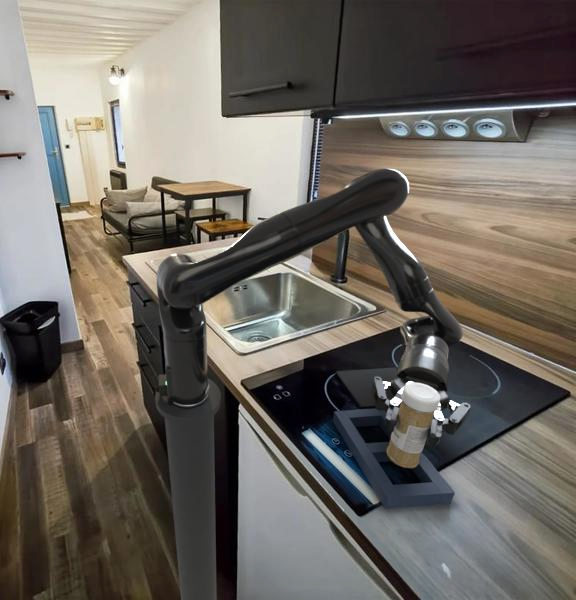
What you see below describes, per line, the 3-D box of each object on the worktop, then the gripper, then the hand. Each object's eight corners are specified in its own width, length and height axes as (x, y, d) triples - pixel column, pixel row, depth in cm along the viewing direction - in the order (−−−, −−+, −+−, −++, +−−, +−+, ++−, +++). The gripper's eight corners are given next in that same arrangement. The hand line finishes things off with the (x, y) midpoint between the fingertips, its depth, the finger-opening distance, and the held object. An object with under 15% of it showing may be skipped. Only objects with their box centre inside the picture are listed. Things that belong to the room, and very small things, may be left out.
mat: (361, 408, 74) (361, 406, 74) (335, 373, 85) (335, 371, 85) (428, 403, 75) (429, 401, 74) (394, 369, 85) (395, 367, 85)
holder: (384, 508, 55) (387, 497, 54) (332, 420, 72) (334, 411, 71) (450, 503, 55) (455, 492, 54) (383, 417, 72) (386, 407, 71)
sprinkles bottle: (383, 444, 61) (400, 379, 55) (414, 449, 59) (435, 383, 53) (389, 466, 57) (408, 399, 51) (422, 472, 55) (446, 404, 50)
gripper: (381, 343, 67) (361, 396, 55) (479, 368, 59) (481, 435, 47) (374, 376, 70) (353, 433, 58) (465, 404, 63) (464, 475, 50)
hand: (411, 433), depth 53 cm, fingers closed on sprinkles bottle, 4 cm apart
